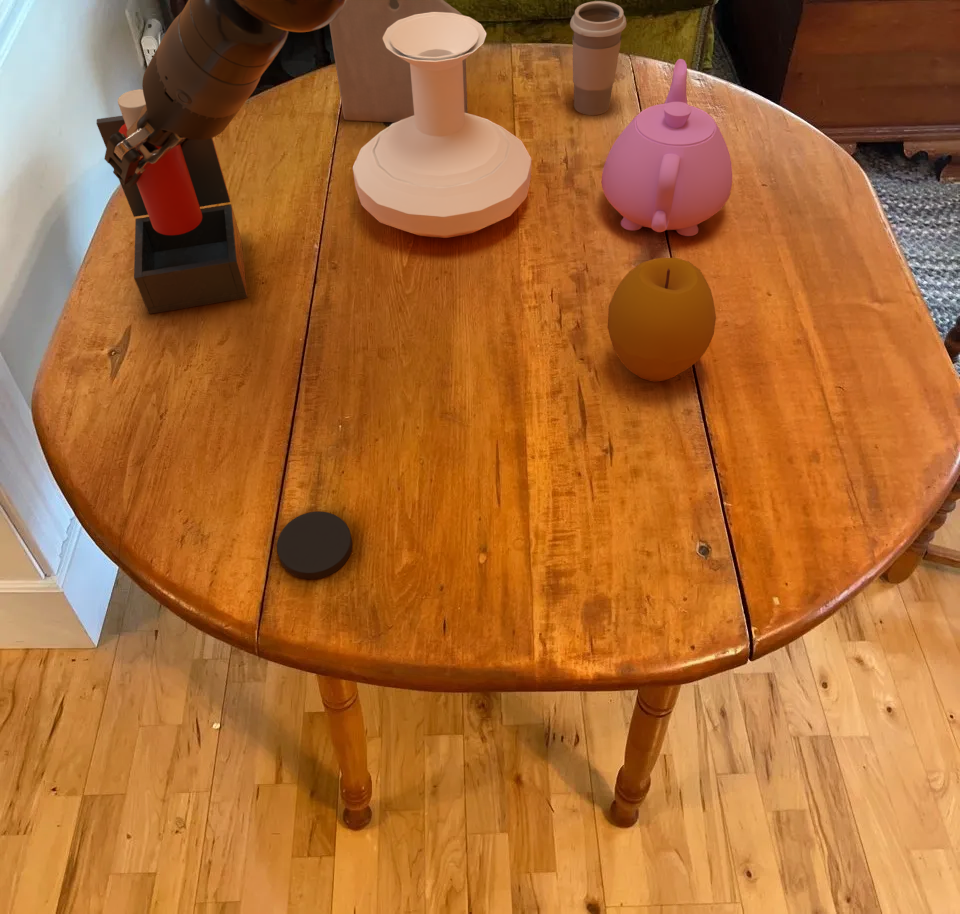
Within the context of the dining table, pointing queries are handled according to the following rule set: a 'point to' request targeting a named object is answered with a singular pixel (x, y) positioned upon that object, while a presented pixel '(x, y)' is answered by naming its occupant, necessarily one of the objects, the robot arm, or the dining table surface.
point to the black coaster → (314, 545)
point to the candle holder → (440, 141)
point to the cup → (595, 54)
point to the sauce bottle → (163, 180)
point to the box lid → (198, 162)
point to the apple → (661, 318)
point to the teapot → (669, 165)
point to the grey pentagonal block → (377, 59)
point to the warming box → (190, 263)
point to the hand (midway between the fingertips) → (145, 162)
